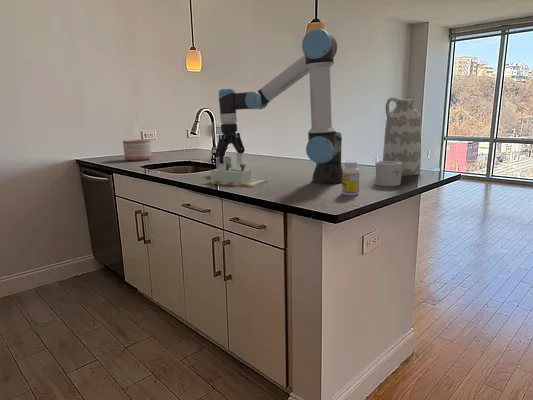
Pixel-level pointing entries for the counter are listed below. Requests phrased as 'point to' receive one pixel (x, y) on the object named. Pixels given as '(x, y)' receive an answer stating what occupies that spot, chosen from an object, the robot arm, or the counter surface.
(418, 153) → the vase
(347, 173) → the supplement bottle
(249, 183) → the board
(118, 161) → the counter surface
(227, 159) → the mug
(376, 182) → the mug
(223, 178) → the pale green block
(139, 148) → the planter
